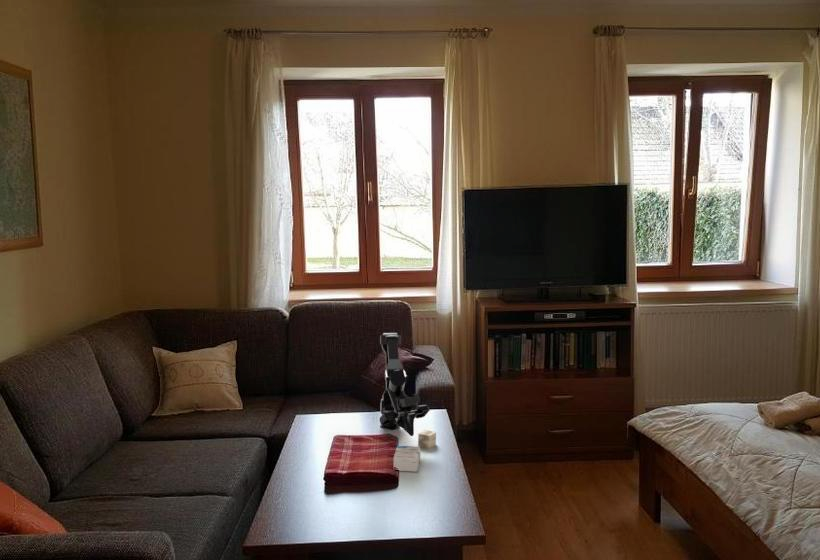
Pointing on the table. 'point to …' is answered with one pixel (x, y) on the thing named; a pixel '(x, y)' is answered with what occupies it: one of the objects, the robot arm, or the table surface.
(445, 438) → the table surface
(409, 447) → the ink box
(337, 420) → the table surface
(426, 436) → the birch block
